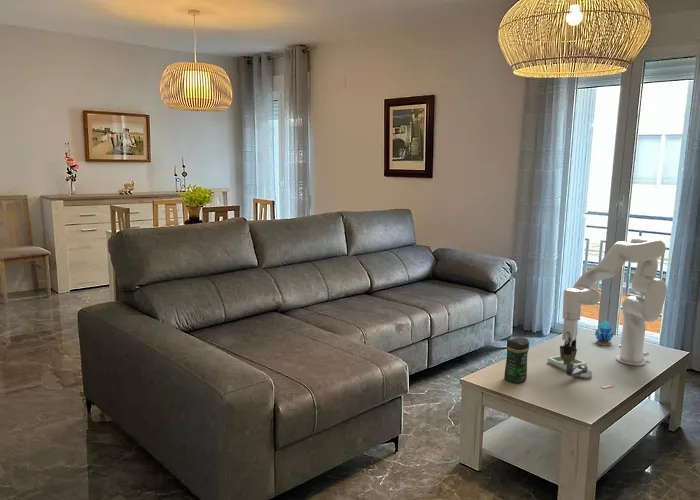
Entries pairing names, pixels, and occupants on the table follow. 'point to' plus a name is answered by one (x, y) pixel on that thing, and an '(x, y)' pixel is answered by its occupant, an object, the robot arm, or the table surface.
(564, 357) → the ornate brass lampshade
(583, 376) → the crank base
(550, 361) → the tray
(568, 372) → the crank
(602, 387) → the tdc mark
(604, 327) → the gemstone
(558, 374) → the table surface
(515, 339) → the coffee jar
